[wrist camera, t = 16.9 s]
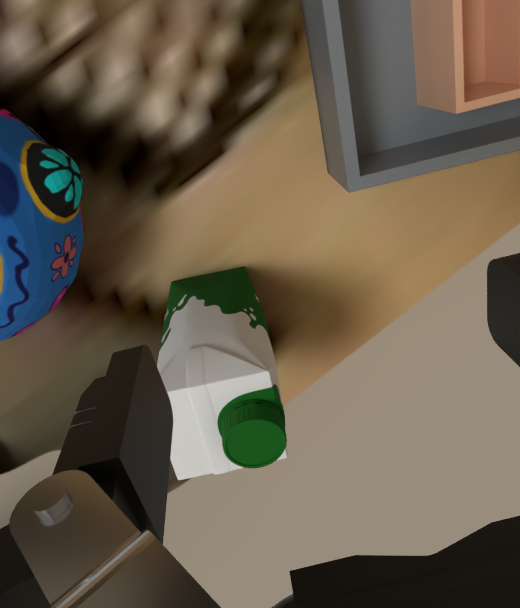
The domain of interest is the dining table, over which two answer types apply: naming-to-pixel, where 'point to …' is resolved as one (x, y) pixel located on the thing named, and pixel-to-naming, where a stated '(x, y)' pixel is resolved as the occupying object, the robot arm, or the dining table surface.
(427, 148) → the big crate
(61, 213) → the ceramic pot
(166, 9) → the dining table surface
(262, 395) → the milk carton
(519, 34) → the small crate
